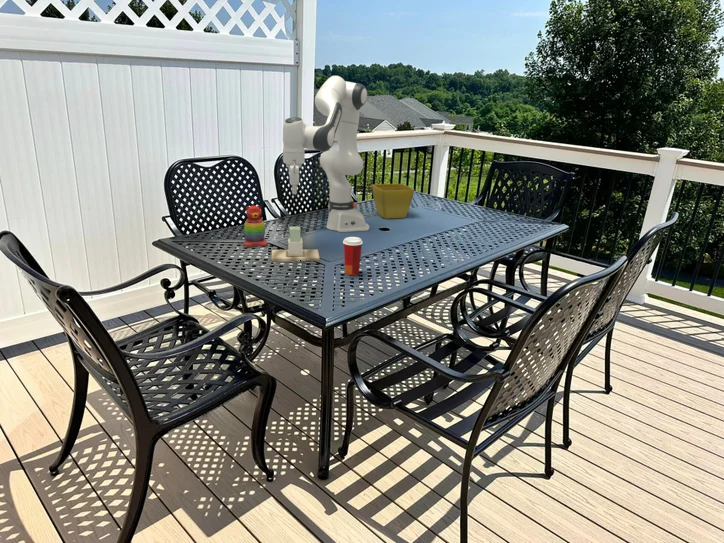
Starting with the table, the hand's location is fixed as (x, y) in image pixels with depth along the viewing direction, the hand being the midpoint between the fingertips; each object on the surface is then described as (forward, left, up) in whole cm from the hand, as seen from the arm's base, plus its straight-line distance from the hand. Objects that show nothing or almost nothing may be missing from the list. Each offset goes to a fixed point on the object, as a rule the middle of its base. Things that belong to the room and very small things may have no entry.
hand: (294, 191), depth 217 cm
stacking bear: (+18, -13, -27) cm, 35 cm away
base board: (0, +6, -27) cm, 28 cm away
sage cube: (0, +6, -20) cm, 21 cm away
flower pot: (-56, -64, -27) cm, 89 cm away
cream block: (0, +6, -26) cm, 26 cm away
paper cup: (-22, +27, -27) cm, 44 cm away
